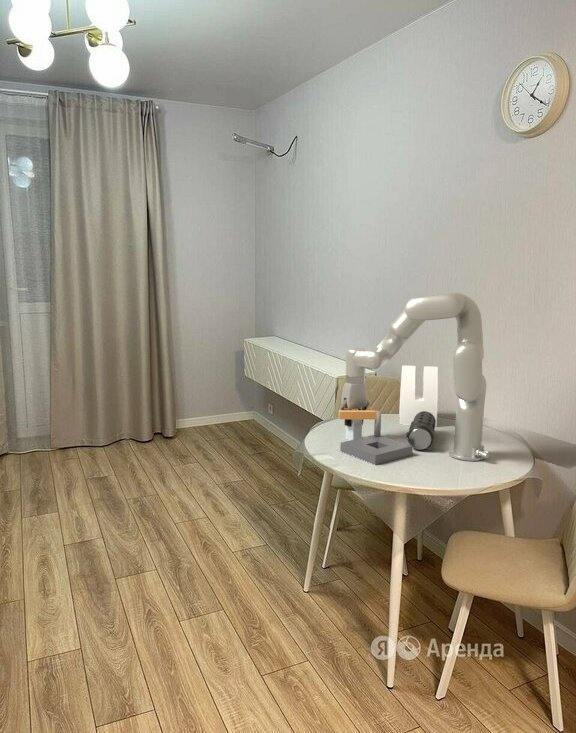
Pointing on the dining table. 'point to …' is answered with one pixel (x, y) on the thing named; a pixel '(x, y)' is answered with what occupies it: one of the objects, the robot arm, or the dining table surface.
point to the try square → (363, 417)
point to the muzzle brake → (421, 431)
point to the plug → (354, 429)
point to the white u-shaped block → (418, 394)
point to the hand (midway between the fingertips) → (353, 424)
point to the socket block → (376, 449)
